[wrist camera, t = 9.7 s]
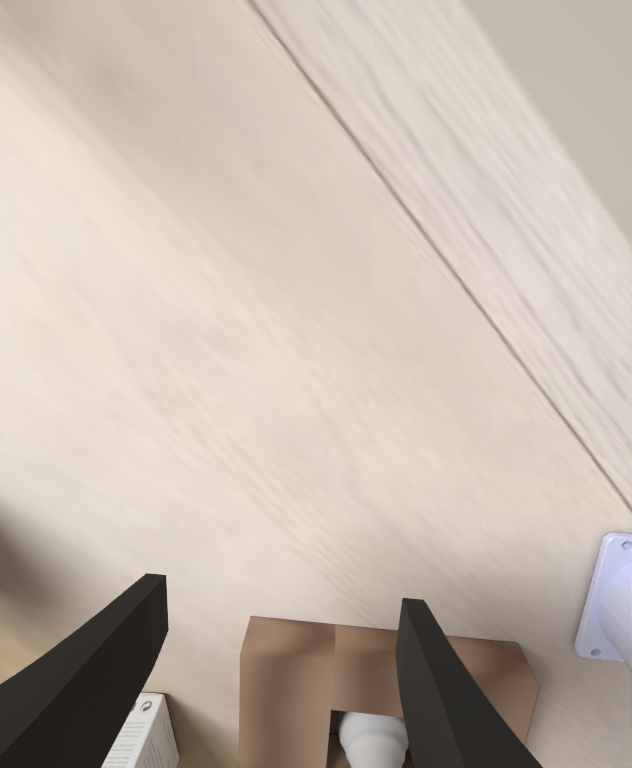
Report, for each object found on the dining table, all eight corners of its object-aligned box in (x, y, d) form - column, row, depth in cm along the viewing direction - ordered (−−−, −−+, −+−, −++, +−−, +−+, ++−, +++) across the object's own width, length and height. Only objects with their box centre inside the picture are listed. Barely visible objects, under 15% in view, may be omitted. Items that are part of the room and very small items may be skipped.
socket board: (517, 643, 22) (539, 686, 20) (484, 788, 25) (500, 841, 22) (250, 616, 23) (240, 654, 20) (248, 759, 26) (238, 808, 23)
